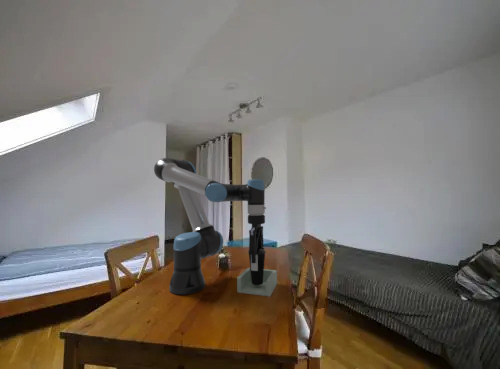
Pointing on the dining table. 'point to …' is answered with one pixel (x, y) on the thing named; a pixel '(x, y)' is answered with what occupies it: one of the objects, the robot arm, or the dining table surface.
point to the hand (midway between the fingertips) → (257, 267)
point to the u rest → (264, 289)
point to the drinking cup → (258, 275)
